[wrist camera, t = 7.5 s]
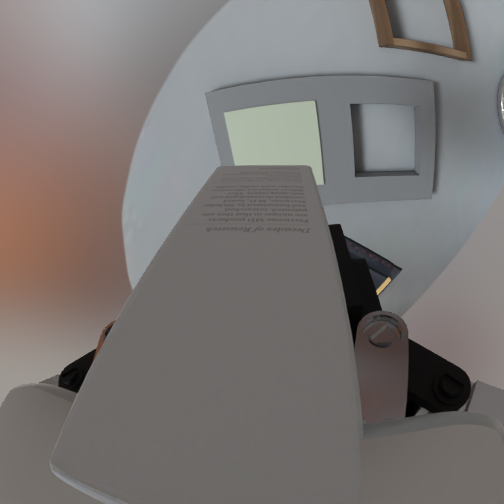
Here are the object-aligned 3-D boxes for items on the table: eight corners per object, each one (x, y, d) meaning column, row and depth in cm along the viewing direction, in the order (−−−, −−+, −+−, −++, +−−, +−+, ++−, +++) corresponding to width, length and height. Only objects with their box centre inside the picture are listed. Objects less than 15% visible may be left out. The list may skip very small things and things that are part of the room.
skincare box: (308, 272, 14) (307, 522, 5) (229, 270, 15) (168, 504, 5) (314, 159, 11) (376, 542, 1) (215, 161, 11) (33, 465, 2)
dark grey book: (322, 227, 31) (407, 276, 34) (320, 219, 33) (403, 267, 35) (250, 324, 42) (327, 351, 45) (251, 315, 44) (326, 343, 46)
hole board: (426, 81, 20) (434, 81, 19) (426, 193, 28) (432, 199, 26) (208, 92, 25) (204, 93, 23) (234, 208, 32) (232, 214, 31)
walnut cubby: (442, -17, 11) (452, -21, 9) (460, 60, 17) (472, 60, 15) (358, -35, 13) (363, -43, 11) (379, 46, 19) (387, 44, 17)
